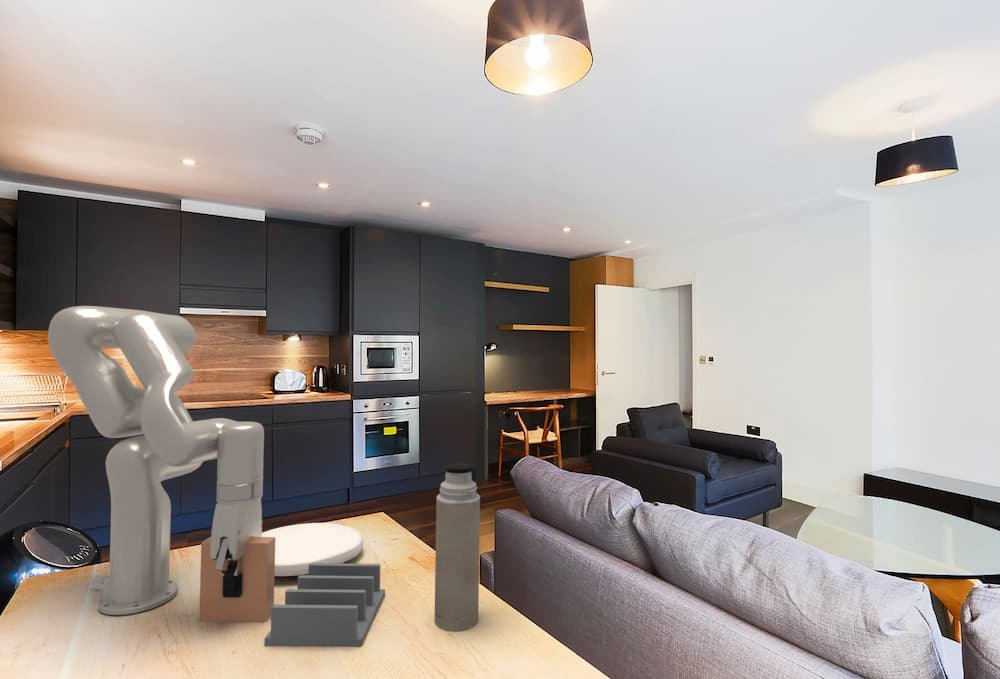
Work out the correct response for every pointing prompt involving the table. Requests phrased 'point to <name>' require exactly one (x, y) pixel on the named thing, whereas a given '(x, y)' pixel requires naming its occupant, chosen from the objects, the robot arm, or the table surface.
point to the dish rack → (328, 607)
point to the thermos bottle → (457, 550)
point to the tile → (254, 584)
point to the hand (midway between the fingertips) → (237, 590)
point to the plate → (312, 546)
